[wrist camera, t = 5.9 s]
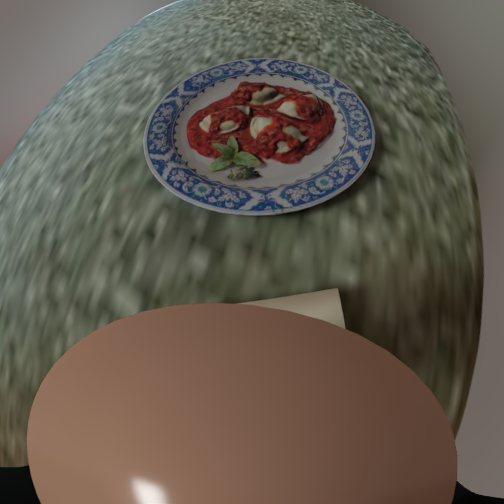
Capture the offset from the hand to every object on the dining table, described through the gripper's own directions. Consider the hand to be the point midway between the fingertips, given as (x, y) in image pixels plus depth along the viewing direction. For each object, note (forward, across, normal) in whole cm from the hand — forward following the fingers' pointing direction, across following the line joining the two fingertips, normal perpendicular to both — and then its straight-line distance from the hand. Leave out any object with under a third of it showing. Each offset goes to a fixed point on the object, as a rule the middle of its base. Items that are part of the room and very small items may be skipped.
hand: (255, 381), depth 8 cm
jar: (+4, 0, +6) cm, 7 cm away
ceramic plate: (+27, +1, -8) cm, 28 cm away
